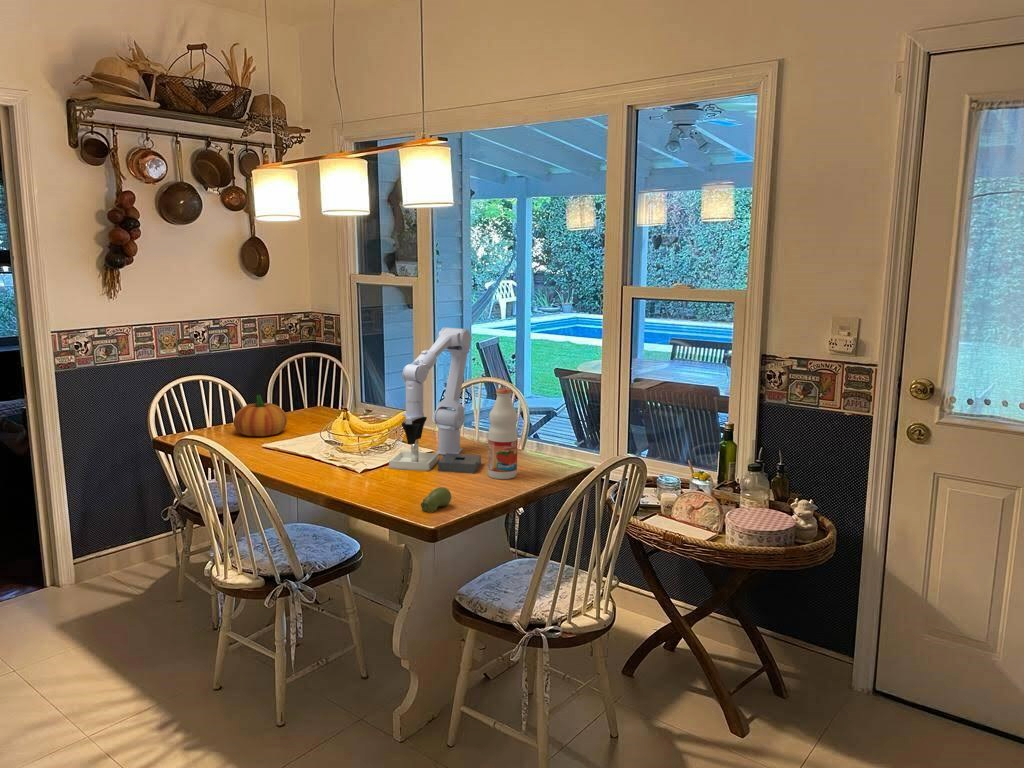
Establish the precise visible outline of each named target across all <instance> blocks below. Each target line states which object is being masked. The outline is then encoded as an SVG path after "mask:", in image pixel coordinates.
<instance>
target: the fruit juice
mask: <svg viewBox="0 0 1024 768" xmlns="http://www.w3.org/2000/svg"><path fill="white" fill-rule="evenodd" d="M512 390H513V389H512V388H509V387H508V388H507V387H498V388H496V389H495V395H496V399H495V402H494V404H493V407H492V408H491V410H490V411H489V414H488V420H489V428H488V432H487V433H488V434H487V469H486V470H487V475H488V477H490V478H492V479H496V480H511V479H514V478H516V476H517V474H518V445H519V444H518V441H519V440H518V439H519V437H518V436H519V431H518V428H517V425H518V424H517V423H518V420H519V415H518V412H517V411H516V410H517V409H515V407H514V405H513V400H512V396H511V395H512V394H513V393H512V392H513V391H512ZM510 478H511V479H510Z"/></svg>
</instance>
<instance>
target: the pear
mask: <svg viewBox="0 0 1024 768" xmlns="http://www.w3.org/2000/svg"><path fill="white" fill-rule="evenodd" d="M451 501H452V493H451V492H450V490H449V489H448V488H446V487H442V486H441V487H437V488H434V489H433V490H431V492H429V494H428V495H427V496H426V497H424V498H423V500H422V502H421V504H420V507H421V510H422V511H424V510H425V512H426V511H429V512H428V513H433V512H432V511H435V512H436V511H437V510H438V508H439V507H441V508H442V507H446V506H448V505H450V503H451Z"/></svg>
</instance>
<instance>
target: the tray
mask: <svg viewBox="0 0 1024 768" xmlns="http://www.w3.org/2000/svg"><path fill="white" fill-rule="evenodd" d="M438 462H439V454H438V453H436V452H421V451H419V462H411V451H405V450H404V451H403V450H400V451H399V452H398V453H396V454H395V455H394V456H393V457H392V458H390V460H389V461H388V468H389V469H390V470H402V471H404V470H406V471H408V470H409V471H419V472H420V471H421V472H423V471H424V472H429V471H430V470H432V468H433V467H434V466H435V465H436V464H438Z"/></svg>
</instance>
